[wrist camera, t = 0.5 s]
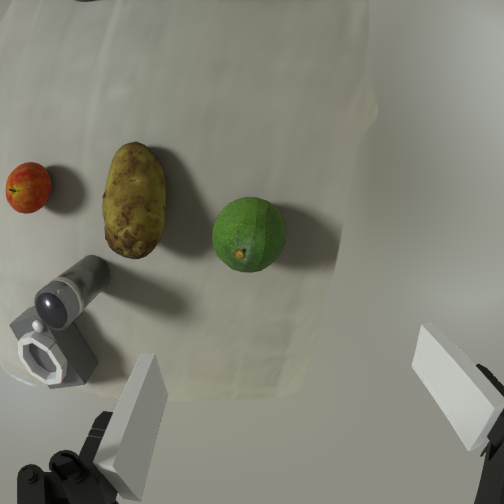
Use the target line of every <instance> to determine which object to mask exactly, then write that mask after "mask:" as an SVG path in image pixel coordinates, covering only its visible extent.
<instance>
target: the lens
mask: <svg viewBox="0 0 504 504" xmlns="http://www.w3.org/2000/svg"><path fill="white" fill-rule="evenodd" d="M109 279H110V272H109V268H108V266H107V264H106V263H105V262H104V261H103V260H102V259H101V258H100V257H98V256H95V255H89V256H86V257H84V258H83V259H82V260H80V261H79V262H77V263H76V264H75V265H73V266H72V267H70V268H69V269H68V270H66V271H65V272H64V273H62V274H61V275H60V276H58V277H57V278H55V279H53V280H52V281H51V282H50V283H49V284H48V285H46V286H45V287H44V288H42V289H41V290H40V291H39V292H38V293H37V294H36V296H35V308H36V311H37V313H38V315H39V317H40V319H41V320H42V321H43V322H44V323H45V324H46V325H47V326H48V327H50V328H52V329H54V330H58V331H61V330H64V329H66V328H67V327H68V326H69V325H70V324H71V323H72V321H73V320H74V319H76V318H77V317H78V316H79V314H80V313H81V312H82V311H83V310H84V308H85V307H86V306H87V305H88V304H89V303H90V302H91V301H92V300H93V299H94V298H95V297H96V296H97V295H98V294H99V293H100V292H101V291H102V290H103V289H104V287H105V286H106V285H107V284H108V282H109Z"/></svg>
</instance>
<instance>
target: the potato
mask: <svg viewBox="0 0 504 504" xmlns="http://www.w3.org/2000/svg"><path fill="white" fill-rule="evenodd" d="M166 193H167V188H166V181H165V176H164V172H163V169H162V167H161V164H160V163H159V161H158V160H157V158H156V157H155V156H154V155H153V154H152V152H151V151H150V150H149V149H148V148H147V147H146V146H145V145H144V144H141V143H138V142H132V143H128V144H125V145H123V146H122V147H121V148H120V149H119V150H118V151H117V152H116V154H115V156H114V158H113V160H112V164H111V167H110V171H109V175H108V179H107V184H106V188H105V192H104V195H103V205H102V209H103V216H104V221H105V239H106V240H107V242H108V244H109V247H110V248H111V249H112V250H113V251H114V252H116V253H117V254H119V255H121V256H123V257H126V258H131V259H140V258H143V257H145V256H147V255H148V254H149V253H151V252H152V251H153V250H154V249H155V247H156V246H157V244H158V242H159V241H160V239H161V237H162V234H163V231H164V227H165V215H166Z"/></svg>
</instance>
